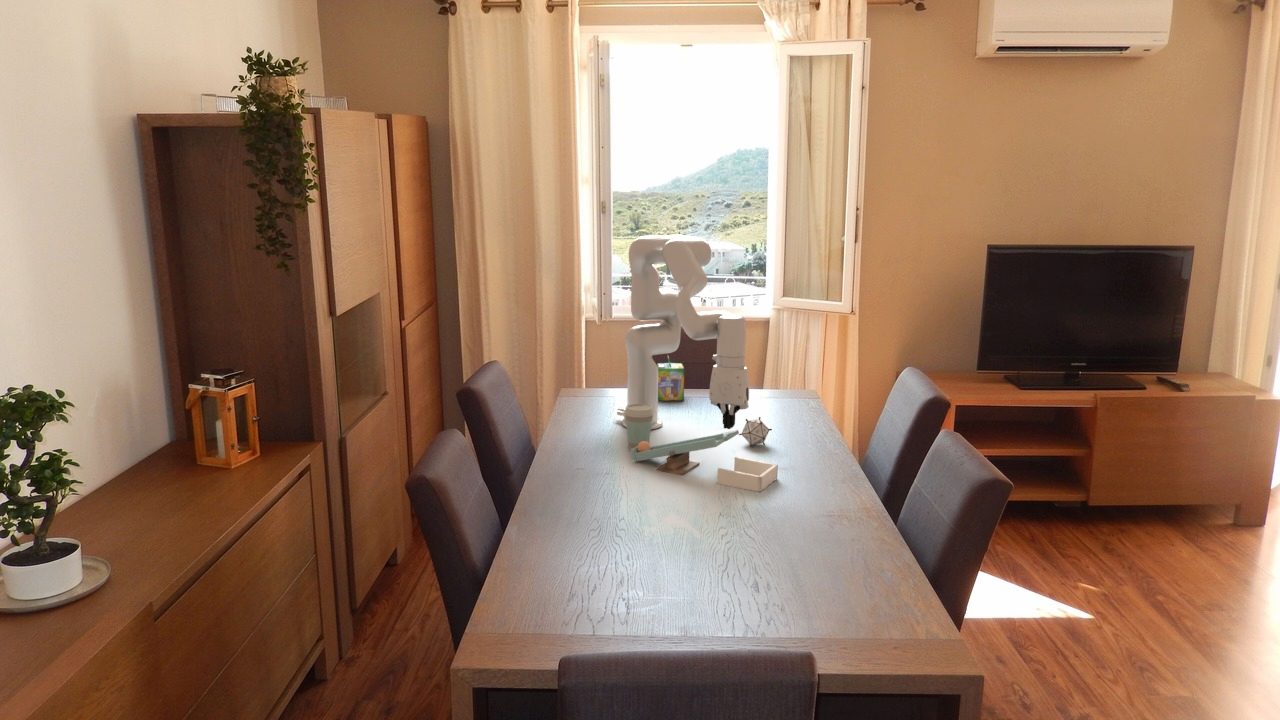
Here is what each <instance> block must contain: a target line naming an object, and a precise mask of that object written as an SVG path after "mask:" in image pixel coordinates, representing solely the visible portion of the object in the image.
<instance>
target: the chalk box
mask: <svg viewBox="0 0 1280 720" xmlns="http://www.w3.org/2000/svg"><path fill="white" fill-rule="evenodd" d="M666 356H667V360H668V362H664V363H663V362H659V363H657V364H656V365H657V367H658V402H662V401H665V402H666V401H684V400H685V367H684V365H683V363H681V362H680V363H677V362H671V361H670V356H669V355H668V354H667V355H666Z"/></svg>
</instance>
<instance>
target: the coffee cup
mask: <svg viewBox="0 0 1280 720" xmlns="http://www.w3.org/2000/svg"><path fill="white" fill-rule="evenodd" d="M624 409H625V412H624V414H625V417H626V427H625V428H626V435H627V443H628V444H627V445H628V448H629V449H630V450H631V449H633V448H635V447H637V446H638V444H639V443H640V442H642V441H646V442H648V443H649V444H650V439H651V430H652V429H651V424H652V417H653V415H654V413H653V409H652V406H650V405H647V404H630V405H626V406H625V408H624Z"/></svg>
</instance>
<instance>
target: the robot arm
mask: <svg viewBox="0 0 1280 720" xmlns="http://www.w3.org/2000/svg"><path fill="white" fill-rule="evenodd" d="M711 260H712V249H711V246H710V244H709V242H708V241H707V240H705V239H704V238H702V237H697V236H690V235H684V234H669V235H667V234H663V235H662V234H661V235H660V234H659V235H656V234H655V235H647V236H646V235H645V236H644V235H643V236H640V237H637V238H635V239H634V240H633V241H632V242H631V244H630V246H629V248H628V262H629V267H630V274H631V282H630V284H631V285H630V286H631V287H630V288H631V289H630V290H631V292H630V293H631V294H630V312H631V316H632V318H633V319H634V320H637V321H639V322H653V321H660V323H649V324H639V325H635V326H633V327H630V328H629V329H628V330H627V331H626V333H625V336H624V345H625V349H626V358H627V402H626V404H627V405H630V404H647V405H650V406H652V409H653V413H654V415H653V417H652V424H651V430H655V429H659V428H661V427H662V425H663V421H662V419H660V418H659V417H658V411H659V407H658V405H659V401H658V367H657V364H656V361H654V359H653V356H657V355H666V354H667V355H668V354H671V353H674V352H676V351H677V350H678V348H679V346H680V343H681V330H682V329H683V331H684V333H685V334H686V335H687V336H688V337H689V338H690V339H692V340H694V341H704V340H713V339H714V340H715V339H716V354H713V355H712V356H711V359H712V361H715V364H714V365H712V366H713V367H712V371H711V376H710V382H709V383H710V384H709V390H708V391H709V392H708V397H709V401H710V404H711V405H713V406H715V407H717V408H718V409H719V411H720V414H722V425H723V429H727V430H731V429H732V428H734V426H735V424H736V413H737V412H739V411H740V410H747V409H749V399H750V383H749V382H750V380H749V373H748V367H747V366H745V363H746V332H747V331H746V330H747V321H746V318H745V317H744V316H742V315H738V314H733V313H732V312H730V311H727V310H709V311H699V312H698V311H696V309H695V307H694V305H693V303H692V301H691V298H693V297H694V296H696V295H697V294H699V293H701V292H702V291H703V290H704V288H706V286H707V284H708V281H709V279H708V276H707V274H706V273H705V270H704V269H703V267H706V266H708V265H709V264H710V262H711ZM656 265H666V267H667V269H668V270H669V272H670V274H671V277H672V278H673V280H674V282H675V284H676V286H677V287H678V290H679V292H677V291H676V290H674V289H673V288H668V287H667V288H660V280H661V278H660V277H661V276H660V273H659V271H658V269H657V267H656ZM681 327H682V328H681ZM627 405H626V406H627ZM625 409H626V408H625V407H624V408H623V407H618V408H617V412H616V415H617V416H623V419H622V421H621V425H622V426H623V427H625V428H627V427H626V417H625V414H624V412H625Z"/></svg>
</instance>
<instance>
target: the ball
mask: <svg viewBox="0 0 1280 720" xmlns="http://www.w3.org/2000/svg"><path fill="white" fill-rule="evenodd" d="M651 447H652V446H651V444H650V442H649V443H648V442H646V441H642V442H640V443H639V444H638V451H639V452H643V451H648V450H650V449H651Z"/></svg>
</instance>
